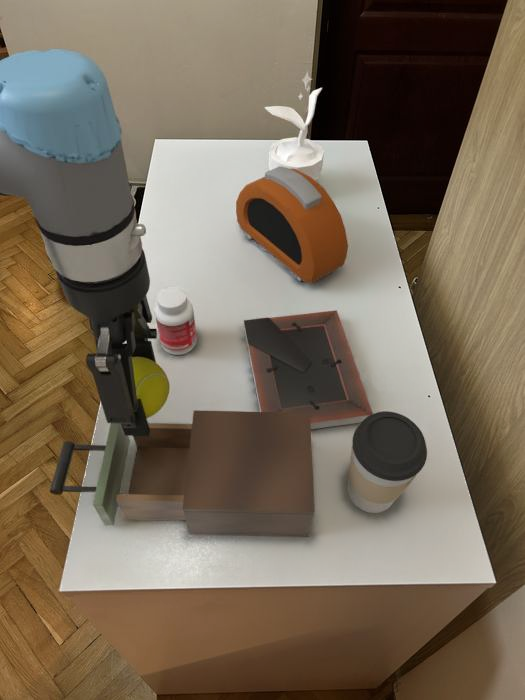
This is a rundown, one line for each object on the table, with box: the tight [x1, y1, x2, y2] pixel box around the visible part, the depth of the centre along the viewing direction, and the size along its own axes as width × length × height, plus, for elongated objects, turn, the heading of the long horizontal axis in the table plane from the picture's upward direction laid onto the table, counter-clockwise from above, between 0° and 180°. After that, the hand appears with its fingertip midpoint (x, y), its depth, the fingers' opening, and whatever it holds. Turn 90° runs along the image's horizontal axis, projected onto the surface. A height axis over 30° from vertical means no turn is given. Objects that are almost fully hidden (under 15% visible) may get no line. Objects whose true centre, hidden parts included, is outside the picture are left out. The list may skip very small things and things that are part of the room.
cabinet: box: [183, 409, 316, 538], centre depth 71 cm, size 16×14×9 cm
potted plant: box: [264, 69, 325, 181], centre depth 108 cm, size 13×12×25 cm
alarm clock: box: [235, 166, 349, 284], centre depth 99 cm, size 23×9×17 cm, turn 38°
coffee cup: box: [347, 410, 428, 514], centre depth 69 cm, size 9×9×15 cm
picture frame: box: [243, 309, 374, 430], centre depth 86 cm, size 16×2×22 cm
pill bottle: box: [154, 286, 198, 356], centre depth 86 cm, size 6×6×11 cm
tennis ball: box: [132, 357, 171, 419], centre depth 60 cm, size 7×7×7 cm
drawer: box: [49, 422, 192, 527], centre depth 71 cm, size 21×13×7 cm, turn 89°
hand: (142, 403), depth 63 cm, fingers closed on tennis ball, 7 cm apart
